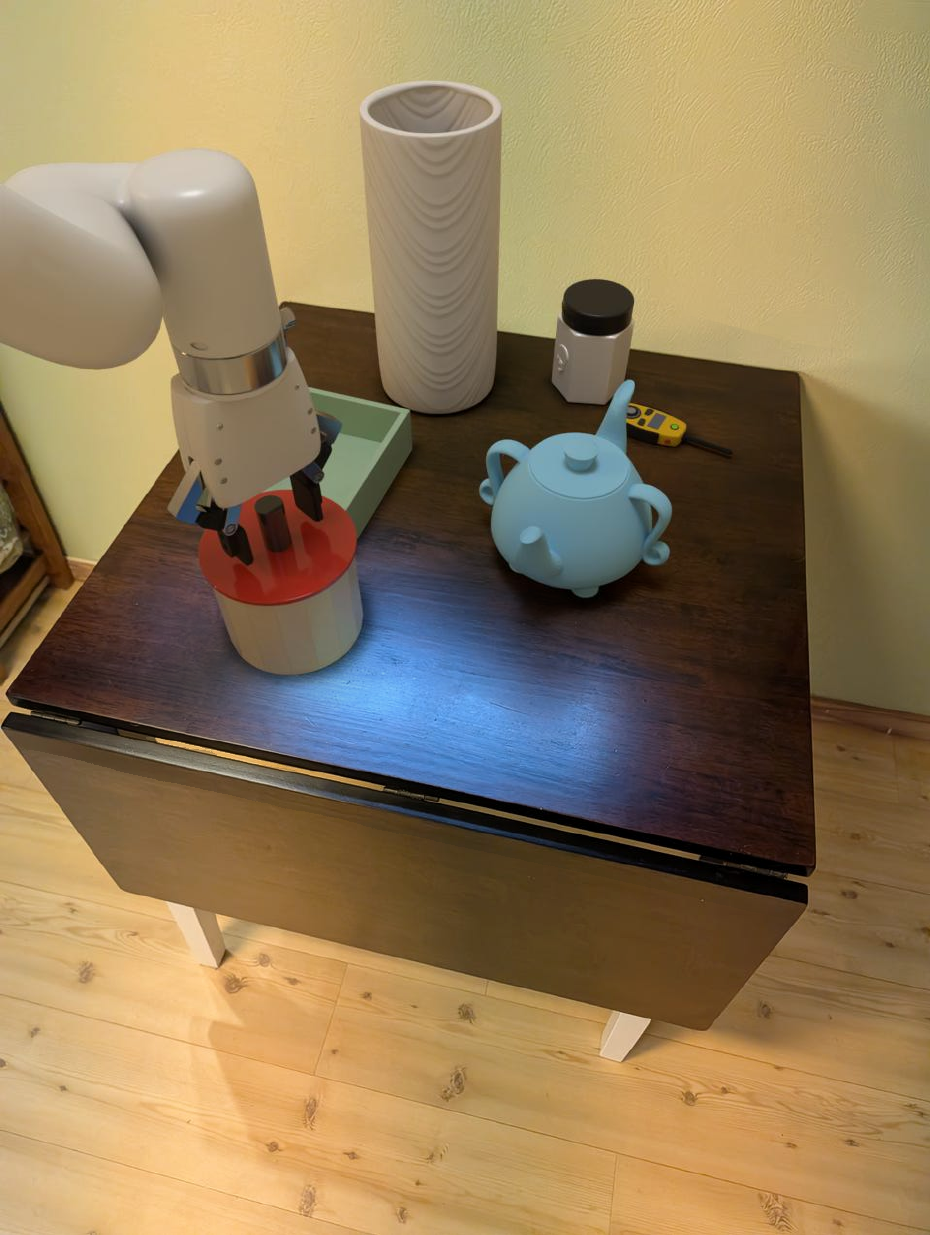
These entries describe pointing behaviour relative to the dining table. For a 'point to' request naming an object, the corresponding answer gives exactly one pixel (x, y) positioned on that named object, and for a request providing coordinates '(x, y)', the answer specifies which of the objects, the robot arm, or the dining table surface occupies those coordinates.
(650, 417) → the remote control
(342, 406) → the green square tray
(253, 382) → the robot arm
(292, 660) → the pot
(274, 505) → the lid
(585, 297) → the jar
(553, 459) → the teapot
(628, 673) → the dining table surface
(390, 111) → the vase
